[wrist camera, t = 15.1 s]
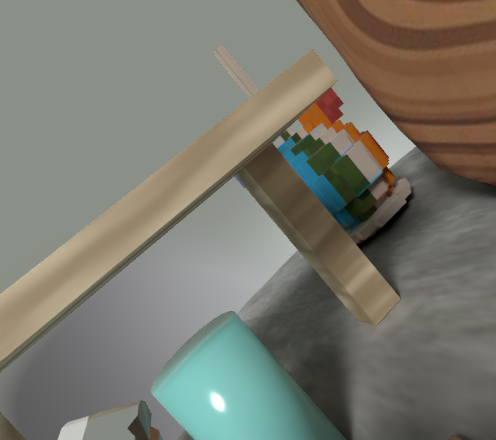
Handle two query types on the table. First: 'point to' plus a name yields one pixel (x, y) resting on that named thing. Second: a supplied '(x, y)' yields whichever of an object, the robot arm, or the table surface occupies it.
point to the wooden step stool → (184, 202)
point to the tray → (454, 438)
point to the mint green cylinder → (236, 389)
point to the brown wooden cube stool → (425, 71)
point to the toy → (337, 163)
